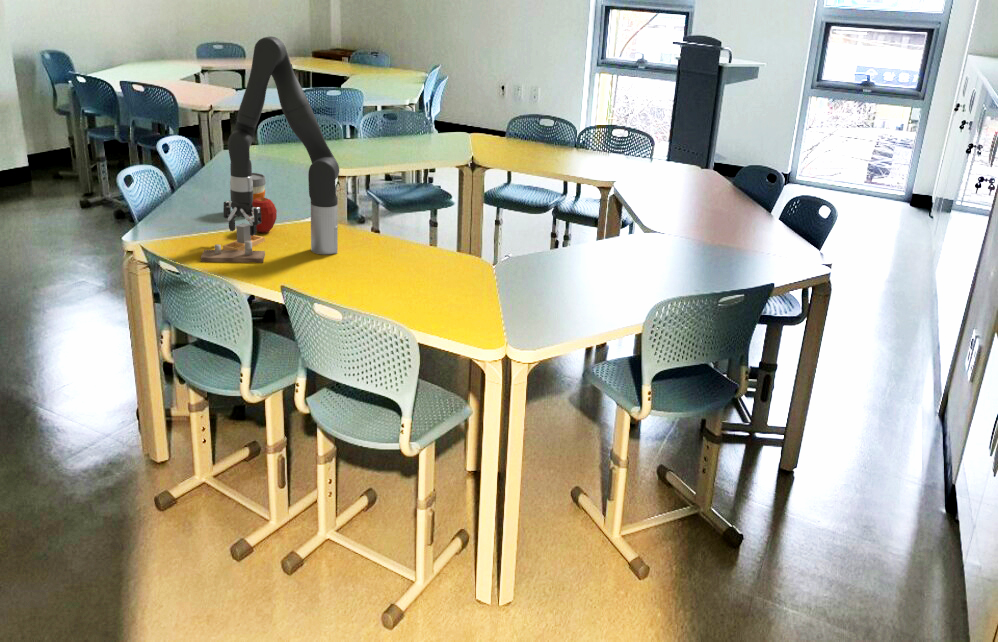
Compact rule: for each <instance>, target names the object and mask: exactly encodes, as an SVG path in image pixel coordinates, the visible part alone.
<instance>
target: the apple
mask: <svg viewBox="0 0 998 642" xmlns="http://www.w3.org/2000/svg"><path fill="white" fill-rule="evenodd" d="M262 197H263V196H262ZM252 205H253V207H260V208H261V220H262V223H261V224H258V225H256V231H257V232H258V233H265V234H266V233H269V232H270V231H271V230H272V229H273V227H274V226H275V223H276V220H277V208H276V206H275V204H274V202H273V201H272V200H271V199H269V198H267V197H265V198H257V199H255V200H253V202H252ZM252 213H253V211H252ZM253 214H254V213H253ZM249 217H250V215H249Z"/></svg>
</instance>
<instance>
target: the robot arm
mask: <svg viewBox="0 0 998 642" xmlns="http://www.w3.org/2000/svg"><path fill="white" fill-rule="evenodd" d="M251 62H252V63H251V69H250V73H249V77H248V80H247V81H248V82H247V83H246V84H247V85H246V87H245V90H244V94H243V97H242V99H241V103H240V106H239V108H238V111H237V114H236V123H235V124H234V125H235V126H234V127H233V131H232V133H231V134H230V135H229V137H228V143H227V148H228V154H229V160H230V168H229V169H230V179H229V180H230V181H229V183H230V184H229V189H230V190H229V192H230V194H229V196H230V200H226V201H224V202H223V211H222V212H223V213H222V214H223V219H227V221H228V229H229V231H230V232H234V231H236V220H235V219H236V218H237V217H241V218H245V220H246V221H247V222H248V224H250V235H251V236H253V235H257V232H258V231H257V230H256V225H258V224H261V223H262V220H261V208H260V207H253V205H252V202H253V180H252V173H253V172H252V171H253V169H252V161H251V159H250V158H251V157H250V155H251V154H250V149H251V148H250V147H251V146H252V143H253V140H254V138H255V134H256V133H255V132H256V129H257V125H258V123H259V121H260V117H261V115H262V112H263V109H264V105H265V101H266V96H267V95H266V93H267V89H268V84H269V81H270V78H271V77H272V79H273V81H274V83H275V87H276V90H277V91H276V92H277V96H278V101H279V104H280V108H281V110H282V113H283V116H284V118H285V119H286V121H287V124H288V126H289V127H290V129H291V130H292V132H293V133H294V134H295V136H296V137H297V138H298V139H299V141H301V143H302V144H303V146H304V148H305V149H306V151H307V154H308V156H309V159H310V162H311V164H310V166H309V168H308V178H307V179H308V195H309V200H310V251H311V253H314V254H317V255H332V254H338V240H339V239H338V235H339V233H338V230H339V229H338V226H339V225H338V224H339V223H338V196H337V194H336V192H337V191H336V180H337V179H338V176H339V175H340V166H339V164H338V161H337V160H336V158H335V156H334V155H333V152H332V151H331V148H329V145H328V143H327V142H326V140H325V137H324V134H323V133H322V130H321V127H320V125H319V122H318V120H317V118H316V116H315V113H314V111H313V109H312V107H311V104H310V102H309V99H308V98H307V96H306V93H305V92H304V89H303V88H302V86H301V84H300V82H299V80H298V78H297V76H296V74H295V71H294V68H293V66H292V64H291V60H290V57H289V53H288V51H287V48H286V46H285V44H284V43H283V41H282V40H281V39H279V38H278V37H275V36H265V37H262V38H260V39H258V40H257V42H256V43H255V45H254V47H253V55H252V61H251ZM231 209H232V210H231ZM252 211H253V213H254V214H253V213H252ZM249 215H250V217H249Z"/></svg>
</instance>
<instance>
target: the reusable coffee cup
mask: <svg viewBox="0 0 998 642" xmlns="http://www.w3.org/2000/svg"><path fill="white" fill-rule="evenodd" d="M265 176H266V175H264V174H262V173H259V172H258V173H257V172H252V180H253V200H255V199H257V198H266V189H265V187H266V183H267V182H266V177H265ZM262 196H263V197H262Z"/></svg>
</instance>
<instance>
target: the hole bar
mask: <svg viewBox="0 0 998 642" xmlns="http://www.w3.org/2000/svg"><path fill="white" fill-rule="evenodd" d="M235 231H236V240H234V241H231V242H229V243H226V244H224V245H222V250H242V251H245V241H252V248H253V247H255V246H258V245H259V244H261V243H264V242H266V237H265V236H261V235H257V234H255V235H253V236H251V235H250V223H244V222H243V223H240V224H238V225H235Z"/></svg>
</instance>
